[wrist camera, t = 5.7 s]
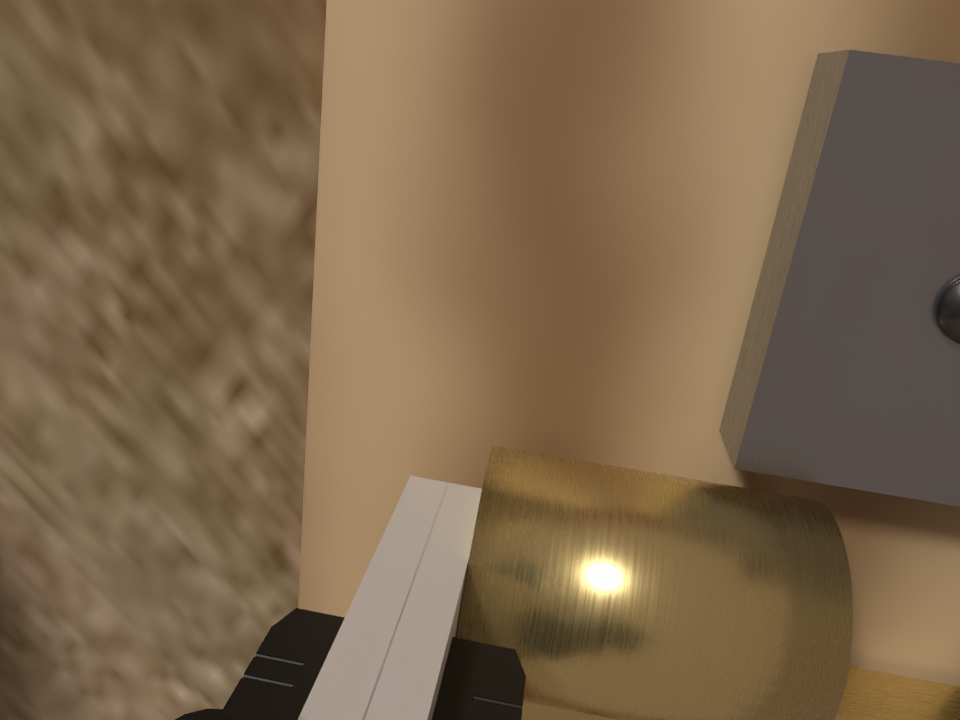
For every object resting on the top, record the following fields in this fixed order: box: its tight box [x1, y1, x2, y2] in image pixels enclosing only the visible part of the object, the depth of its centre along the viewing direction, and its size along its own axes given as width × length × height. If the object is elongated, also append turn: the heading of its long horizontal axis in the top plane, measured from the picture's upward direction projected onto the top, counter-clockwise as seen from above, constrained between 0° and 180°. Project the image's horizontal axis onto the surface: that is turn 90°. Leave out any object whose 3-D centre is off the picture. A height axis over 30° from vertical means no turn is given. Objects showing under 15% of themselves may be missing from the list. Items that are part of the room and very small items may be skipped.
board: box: [298, 0, 960, 687], centre depth 16 cm, size 22×21×1 cm
